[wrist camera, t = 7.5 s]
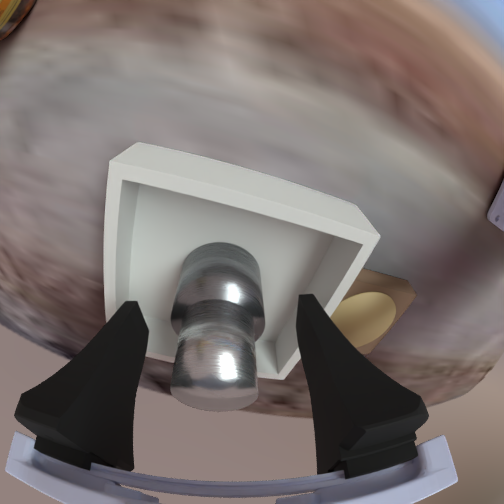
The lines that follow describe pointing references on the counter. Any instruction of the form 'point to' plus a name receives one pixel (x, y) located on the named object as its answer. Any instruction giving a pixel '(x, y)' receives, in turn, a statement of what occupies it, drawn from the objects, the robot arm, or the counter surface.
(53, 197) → the counter surface
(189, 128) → the counter surface
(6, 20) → the sauce bottle
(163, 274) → the bin
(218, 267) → the silver metal knob
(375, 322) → the stud block
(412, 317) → the counter surface
